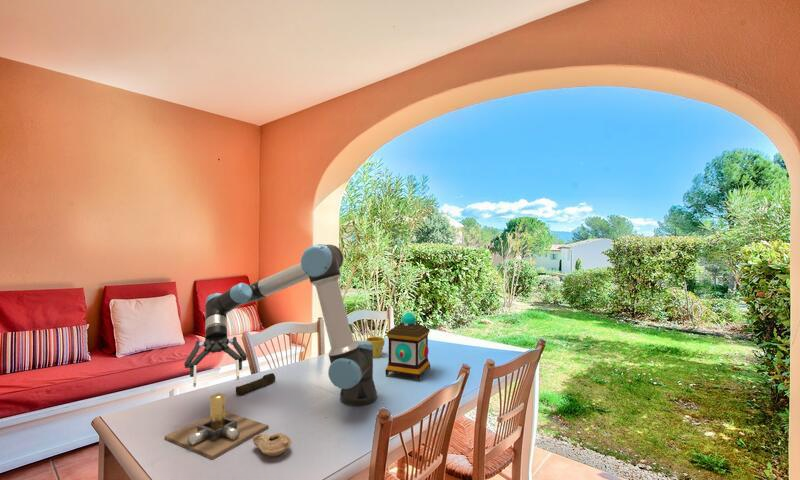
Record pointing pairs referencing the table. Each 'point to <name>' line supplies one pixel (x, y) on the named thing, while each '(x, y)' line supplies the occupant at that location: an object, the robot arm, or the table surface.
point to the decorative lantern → (408, 347)
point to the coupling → (217, 411)
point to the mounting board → (221, 445)
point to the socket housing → (215, 432)
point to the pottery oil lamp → (272, 443)
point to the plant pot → (376, 345)
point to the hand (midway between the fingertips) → (216, 381)
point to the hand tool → (256, 384)
